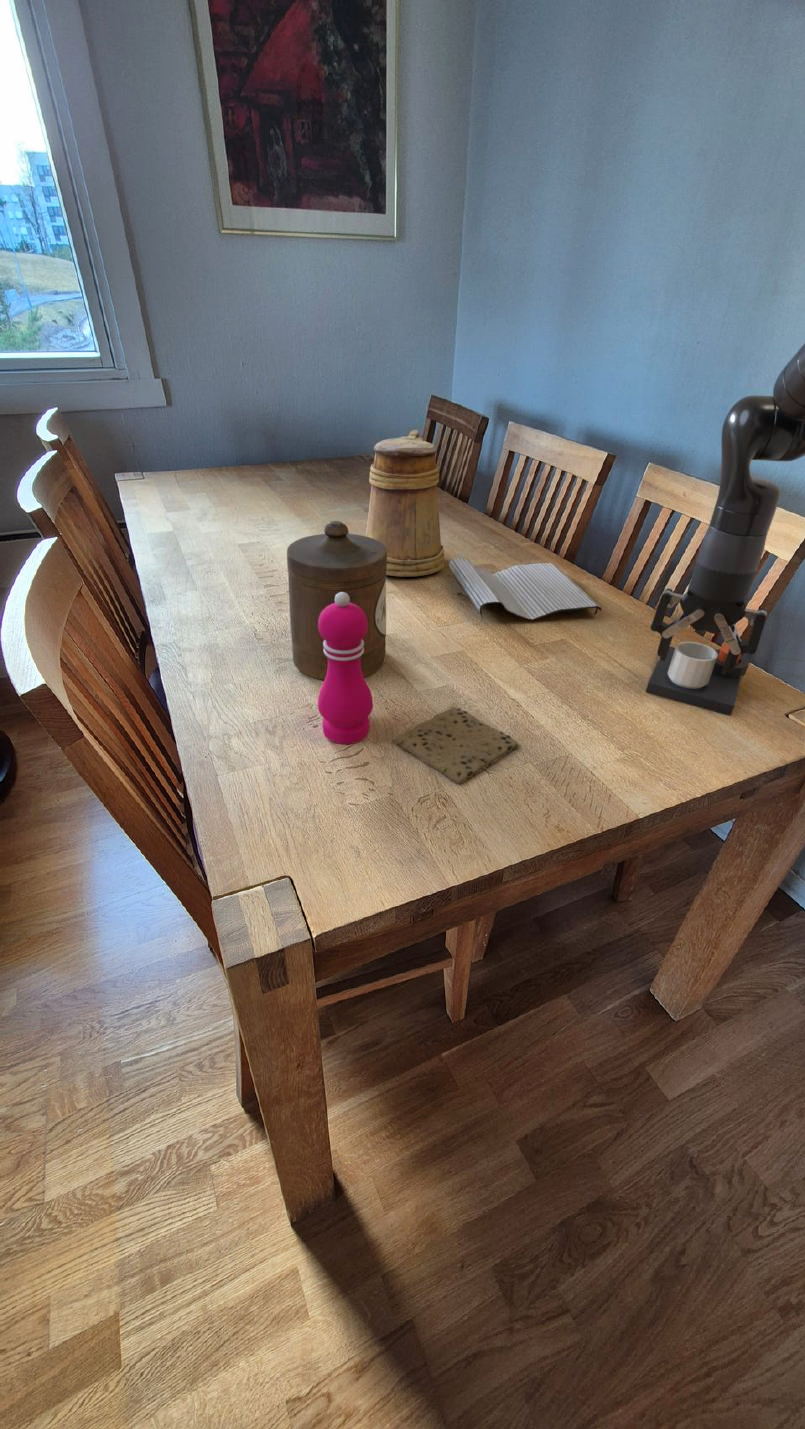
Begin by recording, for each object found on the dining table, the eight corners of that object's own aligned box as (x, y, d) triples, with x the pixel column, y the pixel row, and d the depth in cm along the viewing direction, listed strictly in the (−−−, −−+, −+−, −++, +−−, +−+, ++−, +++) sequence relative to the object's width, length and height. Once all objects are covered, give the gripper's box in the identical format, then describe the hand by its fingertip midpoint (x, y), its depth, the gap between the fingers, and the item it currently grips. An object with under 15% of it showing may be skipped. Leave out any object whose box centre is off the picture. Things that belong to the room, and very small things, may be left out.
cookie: (452, 707, 90) (453, 702, 89) (520, 746, 83) (521, 740, 82) (391, 740, 83) (391, 734, 82) (458, 785, 76) (459, 779, 75)
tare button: (739, 658, 98) (742, 649, 97) (737, 667, 96) (740, 657, 95) (718, 653, 99) (722, 644, 98) (716, 661, 97) (719, 651, 96)
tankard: (354, 577, 129) (351, 448, 115) (371, 539, 148) (370, 425, 134) (441, 583, 128) (450, 453, 114) (447, 544, 147) (454, 429, 133)
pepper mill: (308, 728, 85) (298, 590, 73) (350, 709, 89) (347, 576, 78) (341, 753, 80) (336, 611, 69) (383, 732, 85) (385, 594, 73)
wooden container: (402, 667, 99) (407, 529, 87) (317, 691, 92) (309, 546, 80) (358, 630, 109) (356, 502, 97) (278, 649, 103) (266, 515, 90)
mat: (600, 619, 115) (606, 595, 113) (477, 627, 112) (480, 602, 109) (554, 572, 134) (557, 550, 131) (447, 577, 130) (448, 555, 128)
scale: (743, 674, 100) (750, 655, 98) (733, 716, 90) (741, 696, 88) (663, 654, 105) (668, 635, 103) (645, 692, 95) (651, 672, 93)
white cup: (709, 676, 96) (720, 648, 93) (704, 694, 92) (715, 664, 89) (670, 666, 98) (679, 638, 95) (663, 683, 94) (672, 654, 91)
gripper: (667, 559, 84) (638, 663, 93) (784, 581, 79) (742, 690, 88) (677, 543, 90) (649, 644, 99) (787, 563, 84) (747, 667, 93)
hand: (693, 665), depth 93 cm, fingers open, 8 cm apart
